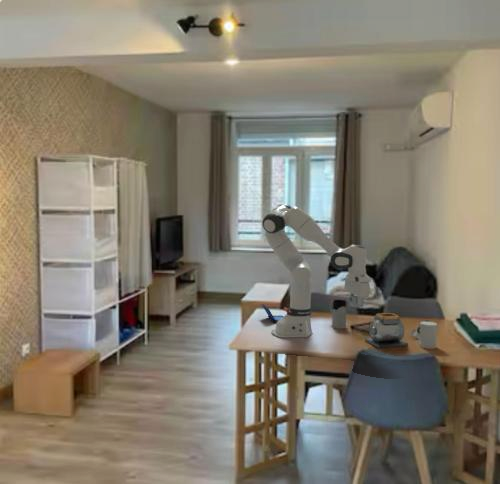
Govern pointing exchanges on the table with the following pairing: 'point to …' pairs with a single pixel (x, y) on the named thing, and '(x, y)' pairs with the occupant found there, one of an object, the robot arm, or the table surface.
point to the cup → (428, 335)
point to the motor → (386, 331)
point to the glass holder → (338, 314)
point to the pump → (354, 301)
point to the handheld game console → (273, 318)
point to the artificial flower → (417, 333)
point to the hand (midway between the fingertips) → (355, 303)
